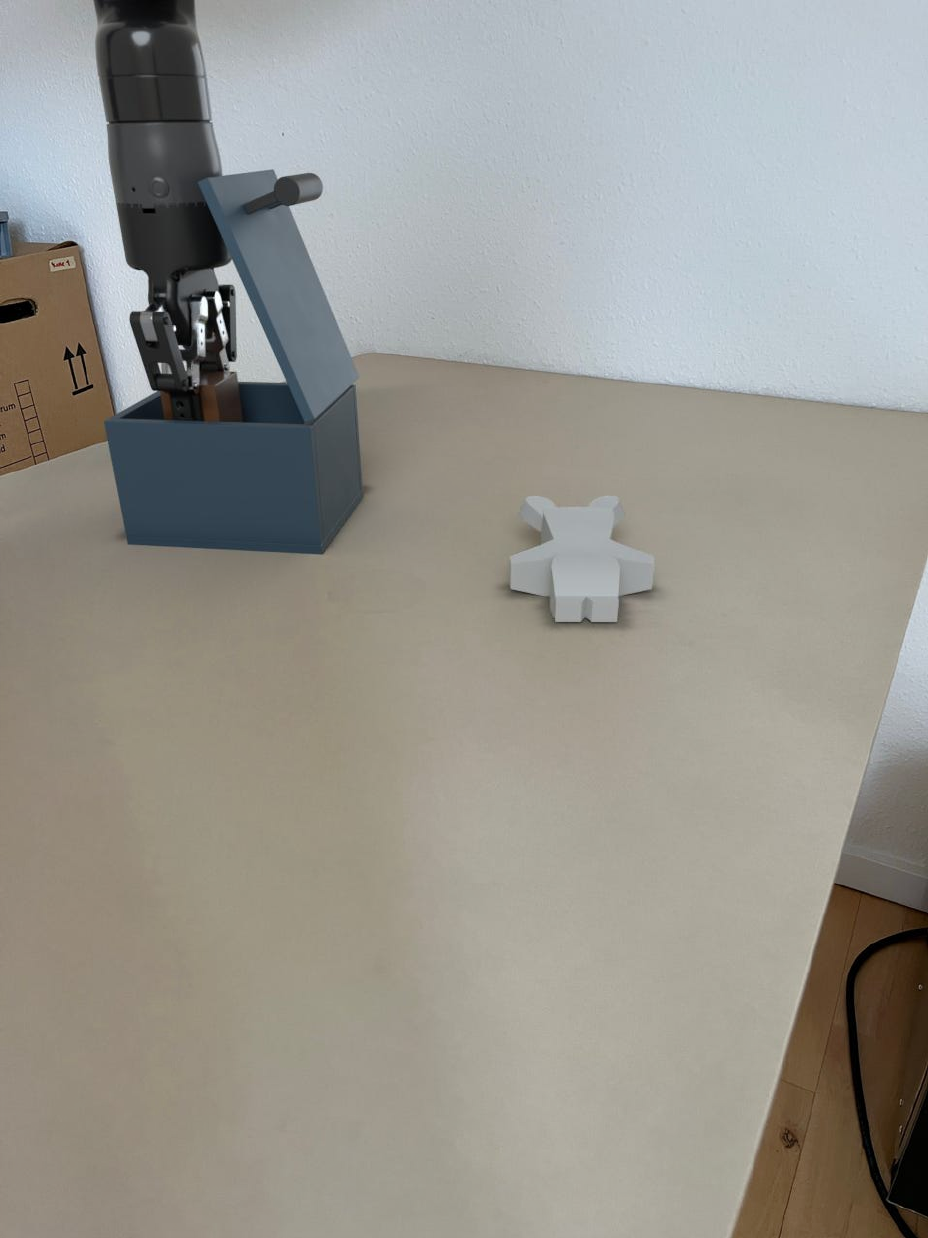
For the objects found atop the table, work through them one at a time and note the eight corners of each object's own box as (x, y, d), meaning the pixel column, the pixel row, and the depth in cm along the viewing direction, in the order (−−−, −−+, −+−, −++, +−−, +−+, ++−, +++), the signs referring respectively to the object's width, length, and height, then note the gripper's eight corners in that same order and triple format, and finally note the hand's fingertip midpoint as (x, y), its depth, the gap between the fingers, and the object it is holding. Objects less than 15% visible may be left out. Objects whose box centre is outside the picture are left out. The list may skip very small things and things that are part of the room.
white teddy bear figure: (510, 579, 57) (508, 471, 69) (509, 647, 60) (507, 532, 72) (667, 579, 57) (637, 471, 69) (659, 647, 60) (631, 532, 72)
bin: (127, 545, 73) (103, 420, 68) (193, 490, 84) (176, 379, 79) (321, 555, 71) (310, 427, 66) (363, 497, 82) (355, 384, 77)
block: (167, 442, 73) (158, 383, 71) (191, 425, 77) (183, 370, 75) (223, 443, 72) (214, 385, 70) (244, 427, 76) (237, 371, 74)
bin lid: (197, 181, 60) (265, 150, 58) (264, 173, 71) (323, 146, 69) (304, 423, 66) (368, 400, 64) (351, 380, 77) (406, 360, 76)
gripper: (164, 189, 73) (196, 406, 81) (68, 202, 61) (117, 458, 69) (256, 188, 72) (280, 409, 80) (178, 201, 60) (215, 461, 67)
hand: (205, 430), depth 74 cm, fingers closed on block, 4 cm apart
